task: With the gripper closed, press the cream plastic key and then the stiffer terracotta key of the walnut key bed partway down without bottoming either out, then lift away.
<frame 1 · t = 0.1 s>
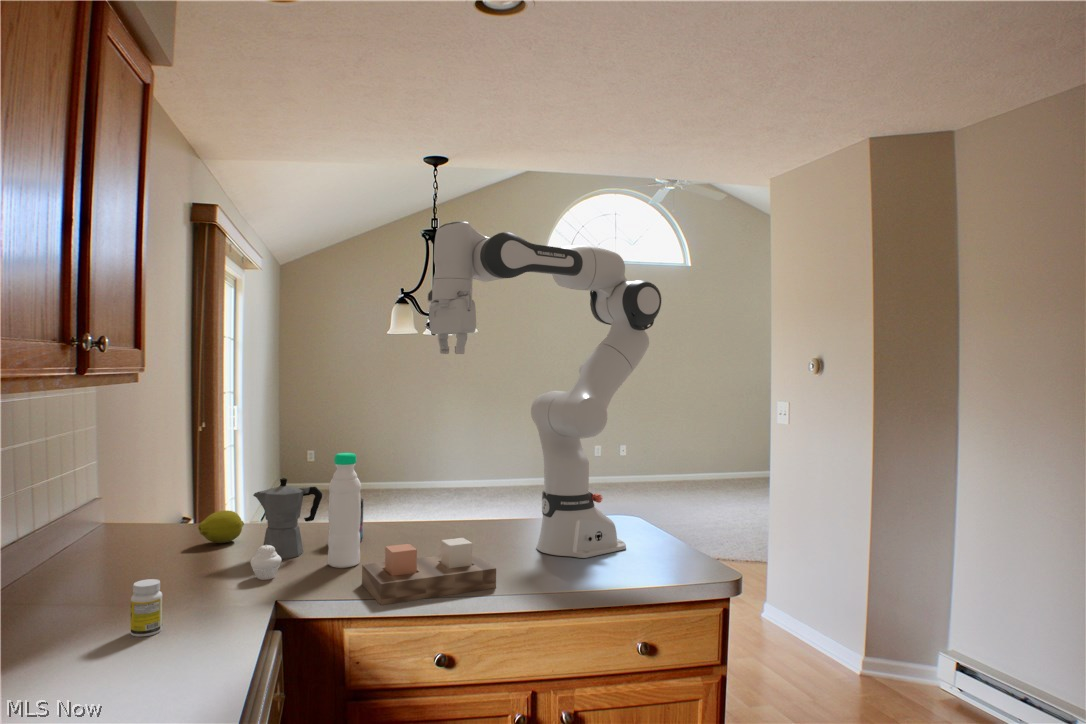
hand: (451, 354, 165), 48 cm above the worktop, fingers open, 8 cm apart
cream key: (456, 553, 152), point 6 cm above the worktop, slide at 0.0 cm
coffeepot: (287, 554, 172), on the worktop
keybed: (428, 585, 149), on the worktop
water bottle: (343, 565, 164), on the worktop
supplement container: (349, 541, 184), on the worktop
supplement bottle: (146, 633, 123), on the worktop
lemon: (221, 543, 180), on the worktop
terracotta key: (400, 560, 147), point 6 cm above the worktop, slide at 0.0 cm
muffin: (265, 578, 153), on the worktop
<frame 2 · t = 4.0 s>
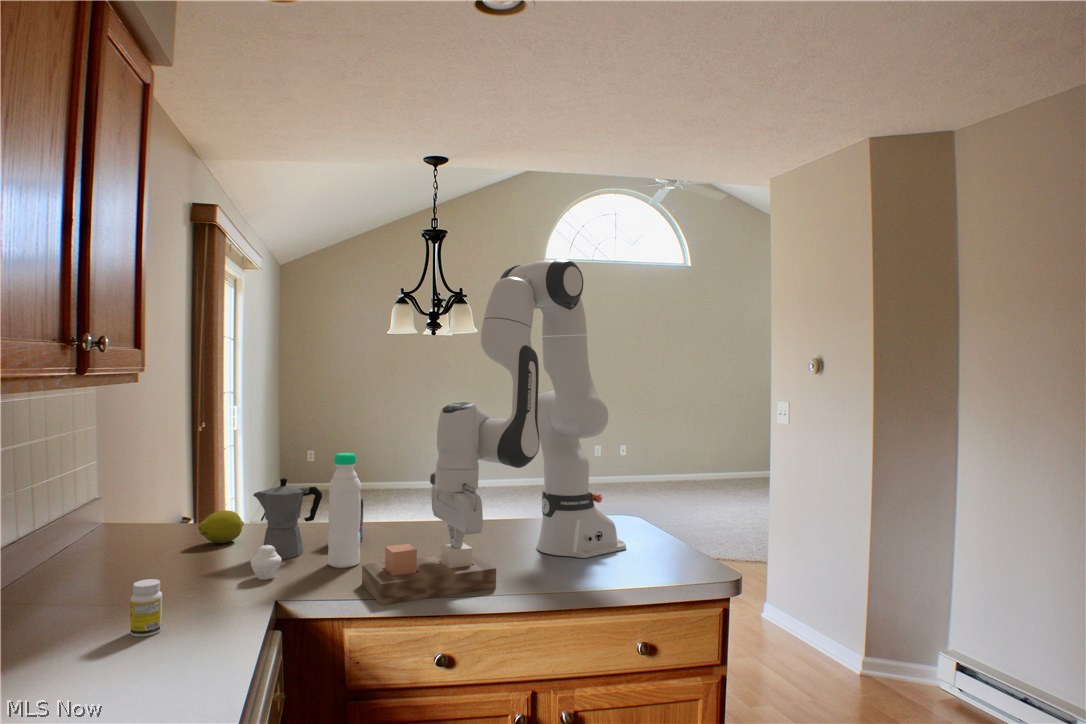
hand: (455, 546, 152), 8 cm above the worktop, fingers closed, pressing on cream key
cream key: (456, 558, 152), point 5 cm above the worktop, slide at 1.0 cm, touching gripper
everything else where it was.
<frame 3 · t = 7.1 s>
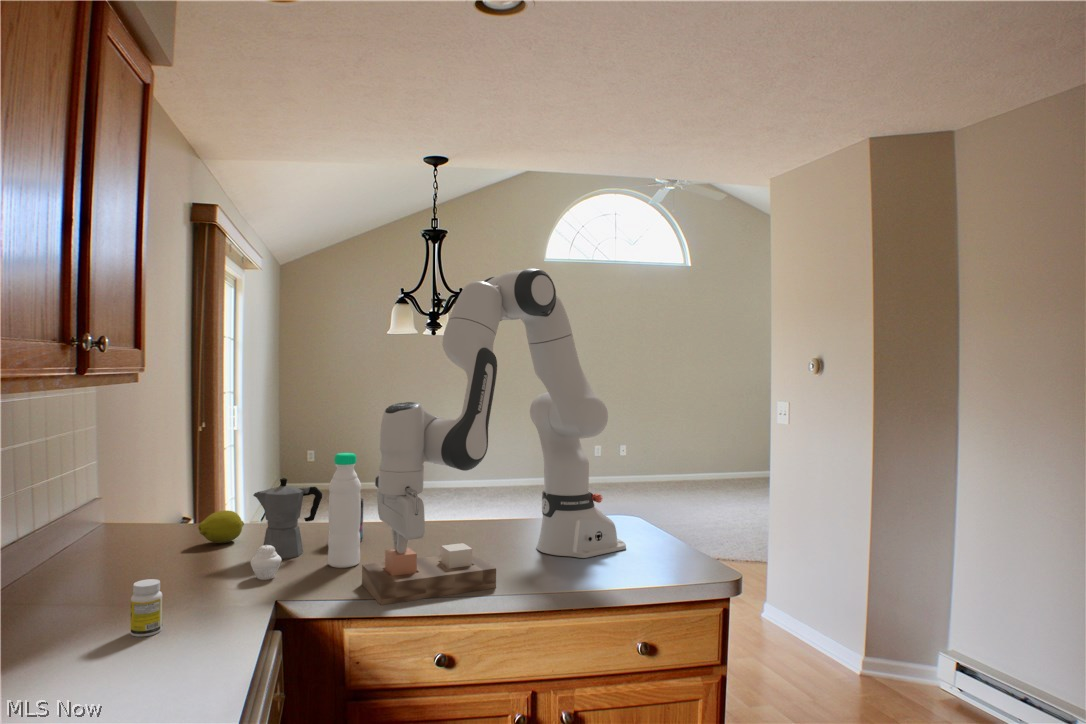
hand: (399, 551, 146), 8 cm above the worktop, fingers closed, pressing on terracotta key
cream key: (456, 559, 152), point 5 cm above the worktop, slide at 1.2 cm
terracotta key: (400, 564, 147), point 5 cm above the worktop, slide at 0.8 cm, touching gripper
everything else where it was.
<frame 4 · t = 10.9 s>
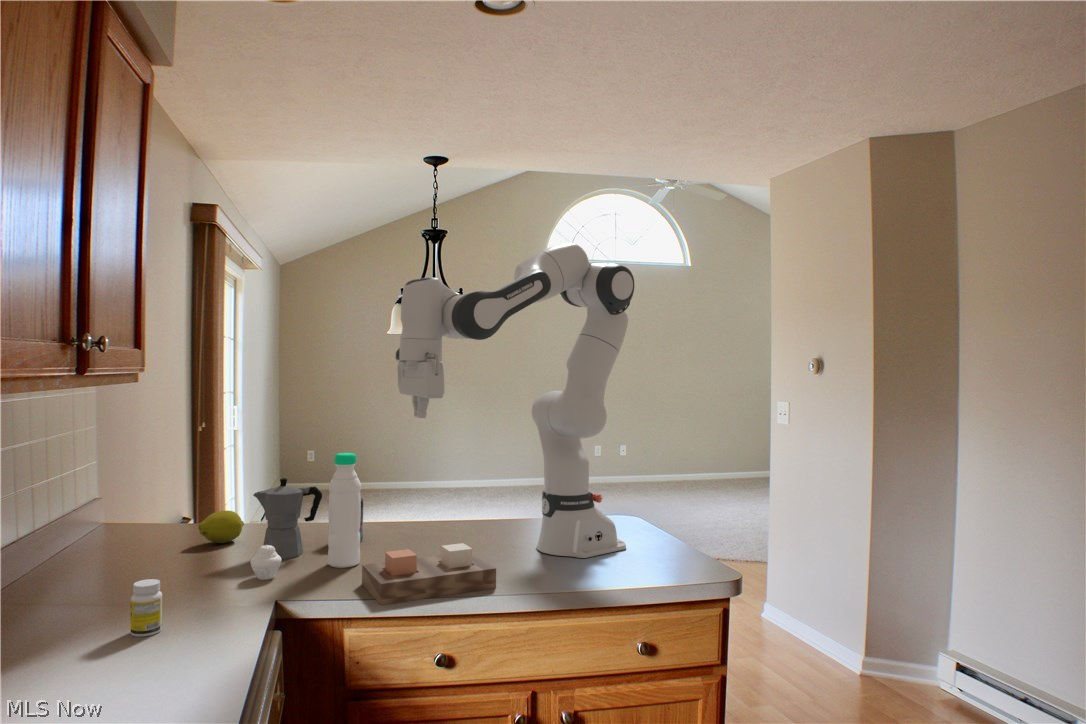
hand: (420, 417, 155), 34 cm above the worktop, fingers closed
terracotta key: (400, 565, 147), point 5 cm above the worktop, slide at 1.1 cm
everything else where it was.
at the end: cream key slide at 1.2 cm; terracotta key slide at 1.1 cm; water bottle moved 0.2 cm from its start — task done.
